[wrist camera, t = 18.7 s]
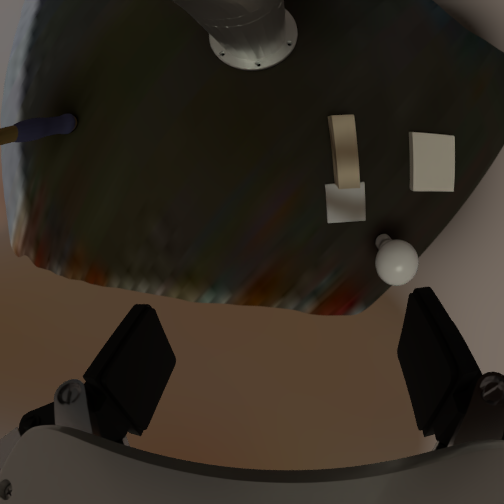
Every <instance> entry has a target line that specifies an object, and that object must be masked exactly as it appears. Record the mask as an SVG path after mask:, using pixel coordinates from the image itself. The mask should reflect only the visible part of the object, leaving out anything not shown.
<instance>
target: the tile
mask: <svg viewBox="0 0 504 504" xmlns="http://www.w3.org/2000/svg"><path fill="white" fill-rule="evenodd" d="M409 146H410V189H411V190H412V191H453V192H454V176H455V138H454V136H451V135H442V134H431V133H419V132H409Z"/></svg>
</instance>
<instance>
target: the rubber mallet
mask: <svg viewBox="0 0 504 504" xmlns="http://www.w3.org/2000/svg"><path fill="white" fill-rule="evenodd" d="M76 126H77V119H76V118H75V116H73V115H72V114H63V115H61V116H57V117H50V118H32V119H28V120H24V121H21V122H18V123H16V124H14V125H13V126H9V127H5V128H0V145H3V144H7V143H11V142H26V141H32V140H37V139H40V138H42V137H45V136H48V135H54V134H69V133H70V132H72V131H73V130H74V129H75V128H76Z"/></svg>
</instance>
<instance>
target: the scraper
mask: <svg viewBox="0 0 504 504" xmlns="http://www.w3.org/2000/svg"><path fill="white" fill-rule="evenodd" d="M328 123H329V131H330V139H331V148H332V158H333V169H334V181H335V183H332V184H325V193H326V206H327V222H328V223H337V222H351V221H364V220H365V184H364V182H360V175H359V160H358V148H357V138H356V128H355V120H354V115H331V116H328Z"/></svg>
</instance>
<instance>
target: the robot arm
mask: <svg viewBox="0 0 504 504" xmlns="http://www.w3.org/2000/svg"><path fill="white" fill-rule="evenodd" d="M171 1H173V2H175V3H176V4H178V5H179V6H180V7H182V8H183V9H184V10H185V11H186V12H187V13H189V14H190V15H191V16H192V17H193V18H194V19H195V20H196V21H197V22H198V23H199V24H200V25H201V26H202V27H203V28H204V29H205V30H206V31H207V32H208V33H209V42H210V45H211V48H212V50H213V51H214V53H215V54H216V56H217V57H218V58H219V59H220V60H221V61H223V62H224V63H226V64H227V65H229V66H231V67H234V68H236V69H240V70H245V71H258V70H264V69H268V68H271V67H273V66H275V65H278V64H279V63H281V62H282V61H284V60H285V59H286V58H287V57H288V56H289V55H290V54H291V52H292V51H293V49H294V47H295V45H296V42H297V36H298V33H297V31H298V30H297V26H296V22H295V20H294V18H293V17H292V15H291V14H290V13H289V12H288V11H287V10H286V9H285V8H284V0H171ZM288 44H291V46H288ZM222 54H225V55H224V56H222ZM258 64H261V66H260V67H258V66H257V65H258ZM397 354H398V359H399V361H400V365H401V368H402V371H403V375H404V378H405V381H406V385H407V388H408V392H409V395H410V399H411V402H412V406H413V410H414V414H415V418H416V422H417V426H418V429H419V430H423V434H424V437H426V436H430V435H433V434H435V437H436V440H437V443H436V445H435V447H434V448H433V450H432V451H430V452H427V453H423V454H419V455H415V456H411V457H407V458H401V459H397V460H392V461H386V462H380V463H375V464H368V465H361V466H355V467H346V468H335V469H321V470H289V471H288V470H256V469H243V468H233V467H232V468H231V467H224V466H216V465H208V464H203V463H197V462H191V461H186V460H180V459H176V458H171V457H167V456H162V455H158V454H154V453H150V452H146V451H143V450H139V449H136V448H133V447H130V446H129V443H128V441H127V437H126V434H127V432H129V433H131V434H135V435H139V436H141V435H142V433H143V430H146V429H147V427H148V425H149V423H150V420H151V418H152V416H153V414H154V412H155V409H156V407H157V405H158V402H159V400H160V398H161V396H162V393H163V391H164V389H165V387H166V384H167V382H168V380H169V377H170V375H171V373H172V371H173V369H174V366H175V363H176V358H175V355H174V353H173V351H172V348H171V346H170V344H169V342H168V339H167V337H166V335H165V333H164V330H163V328H162V326H161V323H160V321H159V318H158V316H157V314H156V311H155V309H153V308H152V307H151V306H150V305H148V304H136V305H134V306H133V308H132V309H131V310H130V311H129V313H128V314H127V315H126V317H125V318H124V319H123V321H122V322H121V323H120V325H119V326H118V327H117V329H116V330H115V331H114V333H113V335H111V337H110V338H109V340H108V341H107V343H106V344H105V345H104V347H103V348H102V349H101V351H100V352H99V354H98V355H97V356H96V358H95V359H94V361H93V362H92V364H91V365H90V367H89V368H88V369H87V371H86V372H85V374H84V375H83V378H84V379H85V381H86V382H85V384H83V383H82V382H81V381H80V380H77V379H72V380H68V381H66V382H64V383H63V384H61V385H60V386H59V388H58V389H57V390H56V392H55V396H54V402H52V403H50V404H47V405H45V406H42V407H40V408H38V409H35V410H33V411H30V412H28V413H27V414H25V415H24V416H23V417H22V419H21V421H20V424H19V428H18V427H16V428H15V429H14V430H12V431H11V432H10V433H9V434H7V435H5V436H4V437H3V438H1V439H0V504H504V375H502V374H500V373H497V372H487V373H485V374H483V375H482V373H481V371H480V369H479V367H478V365H477V363H476V361H475V359H474V357H473V356H472V354H471V352H470V350H469V348H468V346H467V344H466V342H465V341H464V339H463V337H462V335H461V334H460V332H459V330H458V329H457V327H456V325H455V324H454V322H453V321H452V320H451V318H450V317H449V315H448V314H447V312H446V311H445V309H444V307H443V306H442V304H441V302H440V301H439V299H438V298H437V296H436V295H435V293H434V292H433V290H432V289H431V288H430V287H423V288H416V289H414V291H413V293H410V294H409V298H408V303H407V309H406V314H405V319H404V323H403V328H402V333H401V336H400V341H399V345H398V350H397Z"/></svg>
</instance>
